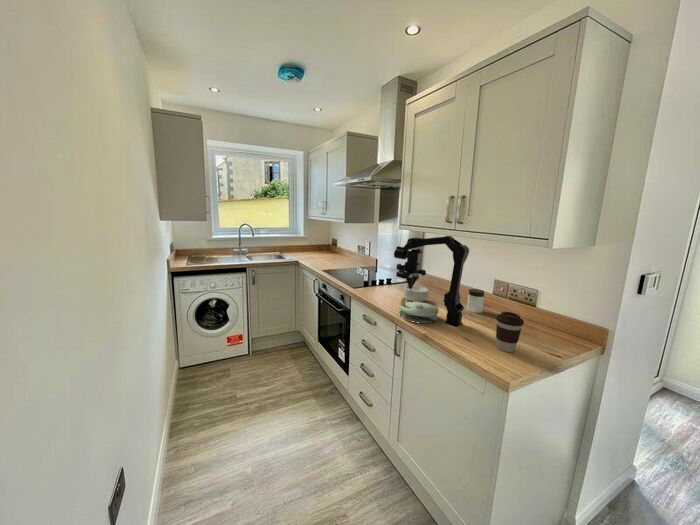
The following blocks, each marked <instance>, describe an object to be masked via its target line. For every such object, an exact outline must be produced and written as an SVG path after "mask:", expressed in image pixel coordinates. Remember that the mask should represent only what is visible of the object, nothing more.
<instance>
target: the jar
mask: <svg viewBox="0 0 700 525" xmlns="http://www.w3.org/2000/svg"><path fill="white" fill-rule="evenodd" d="M484 300H485V291H484V290H482V289H478V288H470V289H469V290H468V297H467V303H466V310H467V312H471V313H473V314H481V313H483V308H484V307H483V306H484Z"/></svg>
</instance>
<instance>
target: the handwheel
mask: <svg viewBox="0 0 700 525" xmlns="http://www.w3.org/2000/svg"><path fill="white" fill-rule="evenodd" d="M406 300H407V298H406V296H401V300H400V304H399V305H400V306H399V307H400V308H399V309H400V311H401V310H402V311H403V312H405V313H408V314H411V315H415V316H424V317H428V316H435V315H437V316H438V314H439V308H438V307H436V306H435V305H432V304H430V303H425V302H411V301H407V302H406Z"/></svg>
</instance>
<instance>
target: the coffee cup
mask: <svg viewBox="0 0 700 525" xmlns="http://www.w3.org/2000/svg"><path fill="white" fill-rule="evenodd" d="M495 319H496V321H497V322H496V327H495V328H496V330H495V331H496V332H495V338H496V339H495V347H496V348H497V349H498V350H500V351H503V352H507V353H514V352H515V351H516V348H517V344H518V342H519V339H520V335H521V331H522V326H523V325H524V323H525V320H524V319H523V318H521V316H520V315H519V314H517V313H514V312H510V311H503V312H501V313H499V314H496V317H495Z"/></svg>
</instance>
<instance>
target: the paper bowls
mask: <svg viewBox="0 0 700 525" xmlns="http://www.w3.org/2000/svg"><path fill="white" fill-rule="evenodd" d="M429 291H430V289H429V288H428V287H424V286H420V285H415V284H414V285H413V287H412V288H411V289H409V286H408V285H405V286H404V287H403V297H406V300H407V301H408V302H411V301H412V302H421V303H424V301H425V300H427V299H428V297H429Z"/></svg>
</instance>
